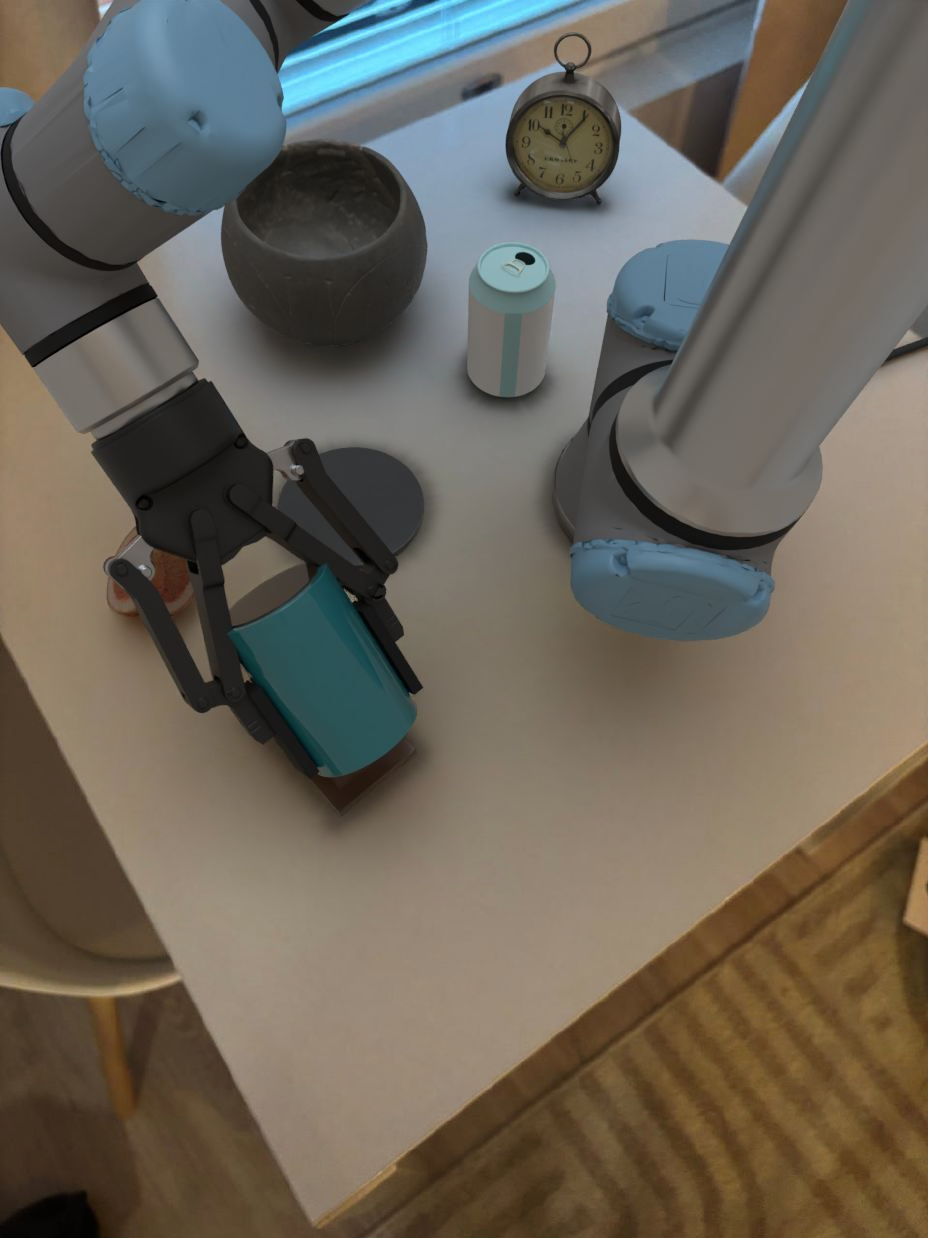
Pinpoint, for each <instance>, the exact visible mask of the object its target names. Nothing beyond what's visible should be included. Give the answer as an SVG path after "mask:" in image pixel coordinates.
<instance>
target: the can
mask: <svg viewBox="0 0 928 1238" xmlns="http://www.w3.org/2000/svg"><path fill="white" fill-rule="evenodd" d="M556 287H557V283H556V277H555V275H554V273H553V271H552V269H551V267H550V261H549V260H548V258H547V256H546V255H545V253H544V252H542V251H541V250H540V249H539V248H537V247H536V246H532V245H531V244H528V243H524V242H519V241H506V242H500V243H497V244H494V245H492V246H490V247H488V248H487V249H486V250H484V251H483V252H481V255H479V258H478V259H477V263H476V265H475V266H474V267H473V269H472V270H471V272H470V274H469V278H468V304H467V305H468V306H467V308H468V309H467V310H468V311H467V352H466V355H467V356H466V357H467V358H466V369H467V370H466V371H467V374H468V377H469V379H470V381H471V382H472V383H473V385H475V386H476V387H477V388H478V389H479V390H481V391H482V392H484V393H486V394H489V395H491V396H495V397H500V398H515V397H521V396H524V395H527V394H529V393H530V392H533V391H534V390H535V389H536V388H538V387H539V386H540V385H541V383H542V382H543V380H544V378H545V374H546V370H547V369H546V368H547V362H548V361H547V360H548V353H549V346H550V345H549V343H550V336H551V329H552V322H553V321H552V320H553V312H554V303H555V295H556Z"/></svg>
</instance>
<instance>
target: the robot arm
mask: <svg viewBox="0 0 928 1238" xmlns="http://www.w3.org/2000/svg"><path fill="white" fill-rule="evenodd" d="M371 1H372V0H112V2H111V3H110V5H109V6H108V8H107V9H106V11H105V13H104V14H103V16H102V17H101V18H100V21H98V24H97V25H96V27H95V28H94V30H93V31H92V33H91V35H90V36H89V38H88V39H87V40H86V42H85V44H84V45H83V47H82V48H81V50H80V52H79V53H78V55H76V57H75V59H73V61H72V62H71V63H70V65H69V66H68V67H67V69H65V71H64V72H63V73H62V74H61V75H60V76H59V78H58V79H57V80H56V81H55V82H54V83H53V84H52V85H51V86H50V87H49V88H48V90H46V92H45V93H44V94H43V95H42V96H41V97H40V98H39V99H38V100H37V101H36V102H35V101H34V99H33V98H32V97H31V96H30V95H28V94H27V93H25V92H24V91H22V90H21V89H16V88H12V87H5V86H4V87H0V326H1V328H2V329H3V330H4V331H5V333H6V334H7V336H8V338H10V340H11V342H13V345H14V346H15V347H16V348H17V350H18V351H19V352H20V354H21V355H22V356H24V358H25V360H26V361H27V362H28V364H29V366H30V367H31V368H32V369H33V371H34V372H35V374H36V376H38V379H39V380H40V381H41V383H42V385H44V387H45V388H46V390H47V391H48V393H49V394H50V396H51V397H52V399H53V401H54V402H55V403H56V405H57V406H58V408H59V409H60V410H61V412H62V413H63V414H64V416H65V417H66V419H67V420H68V421H69V423H70V425H71V426H72V428H73V429H74V430H75V432H76V433H79V434H82V435H85V434H88V433H90V434H91V435H92V437H93V438H94V439H95V441H94V442H92V443H91V444H90V447H91V448H92V450H91V451H90V453H91V455H92V456H93V458H94V459H95V461H96V462H97V463H98V465H99V466H100V468H101V469H102V471H103V472H104V473H105V475H106V476H107V478H108V479H109V481H110V482H111V484H112V485H113V486H114V488H115V489H116V490H117V492H118V493H119V494H120V496H121V498H122V499H123V500H124V502H125V503H126V505H127V507H129V509H130V510H131V512H132V515H133V517H134V521H135V526H136V531H137V534H138V536H137V537H136V538H135V539H134V540H133V541H131V542H130V543H129V544H128V545H127V546H126V547H125V548H124V549H123V550H122V551H121V552H120V553H119V554H118V555H117V556H115V555H111V556H109V557H108V558H106V559H105V561H103V565H102V569H103V572H104V573H105V575H106V576H107V577H110V578H111V579H112V580H113V581H114V582H115V583H116V584H117V585H119V586H120V587H121V588H122V589H123V590H124V591H125V592H126V593H127V594H129V596H130V597H131V599H132V601H133V603H134V605H135V607H136V609H137V611H138V613H139V615H140V617H141V619H140V620H141V621H142V623H143V625H144V626H145V628H146V630H147V632H148V634H149V636H150V638H151V641H152V642H153V644H154V645H155V648H156V649H157V652H158V653H159V656H160V658H161V659H162V661H163V663H164V665H165V667H166V669H167V671H168V673H169V675H170V677H171V678H172V680H173V682H174V685H175V686H176V688H177V690H178V692H179V694H180V696H181V698H182V700H183V701H184V702H185V703H186V704H187V705H188V706H189V707H190V708H191V709H192V710H194V712H196V713H199V714H206V713H208V712H209V711H211V709H213V708H217V707H220V706H226V707H228V708H229V711H231V712H232V714H233V715H234V716H235V718H236V720H237V721H238V722H239V724H240V725H241V726H242V728H243V729H244V730H245V732H246V733H247V734H248V736H249V737H250V738H252V739H253V740H254V741H256V742H258V743H259V744H261V745H265V744H266V743H268V742H269V741H270V740H272V739H273V738H274V739H275V740H274V739H273V740H274V741H275V742H276V744H277V745H278V746H279V748H280V749H281V750H282V752H283V753H284V754H285V756H286V758H287V759H288V760H289V761H290V763H291V764H292V766H293V767H294V768H295V770H297V771H298V772H299V773H301V774H302V775H303V776H305V777H306V778H307V779H308V778H309V779H311V778H312V777H314V776H315V775H316V774H317V773H319V772H320V771H319V770H318V768H317V767H316V766H315V764H314V763H313V761H312V760H311V759H310V757H309V756H308V754H307V753H306V751H305V750H304V749H303V747H302V746H301V744H300V743H299V741H298V740H297V739H296V737H295V736H294V734H293V733H292V732H291V730H290V729H289V727H288V726H287V724H286V723H285V722H284V720H283V719H282V717H281V716H280V714H279V713H278V712H277V710H276V709H275V707H274V706H273V705H272V703H271V702H270V700H269V699H268V697H267V696H266V695H265V693H264V692H263V690H262V689H261V688H260V687H258V686H257V685H255V684H253V683H252V682H251V680H250V679H246V680H245V681H244V676H243V671H242V670H243V669H242V668H241V666H240V661H239V656H238V651H237V648H236V646H235V645H234V643H233V642H232V641H231V639H230V638H229V636H228V635H227V634H228V633H229V632H230V631H231V630H233V627H232V623H231V618H230V613H229V609H230V607H229V603H228V599H227V594H226V590H225V575H224V570H223V566H224V565H226V564H227V563H229V562H231V561H232V560H233V559H234V558H235V557H236V556H237V555H238V554H239V553H240V552H241V550H242V549H243V548H244V547H248V546H250V545H254V544H256V543H258V542H259V541H261V540H262V539H264V538H265V537H266V538H267V539H269V540H271V541H273V542H275V543H277V544H278V546H280V547H282V548H283V549H285V550H287V551H288V552H289V553H291V554H292V555H294V556H295V557H296V558H298V559H300V560H301V561H303V563H304V562H305V563H307V564H314V565H317V566H322V565H324V564H325V563H327V564H328V566H329V567H330V569H331V570H332V572H333V573H334V575H335V577H336V578H337V579H338V581H339V582H340V584H341V586H342V587H343V589H344V590H345V592H346V593H347V592H348V593H349V594H351V595H352V596H354V597H355V599H356V600H353V601H351V602H352V603H353V605H354V606H355V608H356V609H357V611H358V613H359V614H360V616H361V617H362V619H363V621H364V622H365V624H366V625H367V627H368V628H369V630H370V632H371V633H372V635H373V636H374V638H375V640H376V641H377V643H378V644H379V646H380V647H381V649H382V651H383V652H384V654H385V655H386V657H387V659H388V660H389V662H390V663H391V665H392V667H393V668H394V670H395V671H396V673H397V674H398V676H399V678H400V679H401V681H402V682H403V684H404V686H405V687H406V689H407V690H408V692H409V693H410V695H411V694H412V695H414V696H416V694H418V693H419V692H420V691H422V690H423V689H424V686H423V684H422V683H421V681H420V680H419V678H418V676H417V675H416V673H415V671H414V670H413V668H412V667H411V665H410V663H409V662H408V660H407V659H406V657H405V656H404V654H403V652H402V650H401V649H400V647H399V646H398V644H397V643H396V642H398V641H399V640H400V639H401V638H404V636H405V630H404V626H403V624H402V622H401V621H400V619H399V618H398V616H397V615H396V613H395V610H394V609H393V608H392V606H391V605H390V603H389V602H388V600H387V599H386V596H387V588H386V585H385V583H386V582H387V580H388V579H389V577H390V576H391V575H394V574H396V572H397V571H398V569H399V566H400V565H399V560H398V558H397V556H394V555H393V554H392V552H391V551H390V550H389V549H388V548H387V546H386V545H385V544H384V543H383V542H382V540H381V539H380V538H379V537H378V535H377V534H376V533H375V532H374V531H373V529H372V528H371V527H370V526H369V525H368V523H367V522H366V521H365V520H364V518H363V517H362V516H361V515H360V514H359V512H358V511H357V510H356V509H355V508H354V506H353V505H352V504H351V503H350V501H349V500H348V499H347V498H346V497H345V495H344V494H343V493H342V492H341V491H340V489H339V488H338V487H337V486H336V484H335V483H334V482H333V481H332V480H331V478H330V477H329V476H328V475H327V474H326V472H325V469H324V467H323V464H322V461H321V459H320V456H319V451H318V448H317V446H316V444H315V442H314V441H313V440H312V439H311V438H309V437H305V438H297V439H290V440H287V441H286V442H285V443H284V445H283V446H281V447H278V448H275V449H274V450H270V451H267V452H266V451H264V450H263V449H261V448H259V447H258V446H256V445H255V444H254V443H252V442H251V441H250V439H249V438H248V437H247V435H246V433H245V431H244V430H243V428H242V426H241V425H240V424H239V421H238V420H237V419H236V416H234V414H233V412H232V411H231V409H230V408H229V406H228V404H227V403H226V401H225V400H224V398H223V396H222V395H221V393H220V392H219V390H218V389H217V387H216V386H215V384H214V382H213V380H210V381H208V380H207V378H205V377H203V378H201V379H199V378H198V377H197V376H196V373H194V371H195V370H197V369H198V368H199V364H200V360H199V358H198V356H197V355H196V354H195V351H193V349H192V347H191V346H190V343H189V342H188V341H187V340H186V338H185V336H184V335H183V333H182V332H181V330H180V329H179V327H178V326H177V324H176V322H174V319H173V318H172V316H171V315H170V313H169V312H168V311H167V308H166V307H165V305H164V304H163V303H162V301H161V299H160V298H159V295H158V293H157V292H156V290H155V288H154V287H153V286H152V285H151V283H150V282H149V281H148V279H147V277H146V275H145V273H144V272H143V270H142V268H141V267H140V265H139V263H138V262H140V261H141V260H143V258H145V257H146V256H147V255H149V254H151V253H153V252H154V251H155V250H157V249H158V248H159V247H161V246H162V245H164V244H165V243H167V242H168V241H169V240H171V239H173V238H175V237H177V235H179V234H180V233H182V232H184V231H185V230H186V229H188V228H189V227H191V226H193V225H194V224H195V223H196V222H198V221H199V220H201V219H202V218H204V217H206V216H208V215H209V214H210V213H211V212H213V211H218V210H220V209H222V208H224V206H225V204H226V202H232V201H233V200H235V199H236V198H237V197H238V196H239V195H240V194H241V193H242V192H243V191H244V190H246V186H247V185H248V184H249V183H250V182H251V181H252V180H254V179H255V178H256V177H257V176H258V175H259V174H260V173H261V172H263V171H264V170H265V169H266V168H268V167H269V166H270V165H271V164H272V162H273V161H274V160H275V158H276V157H277V156H278V154H279V152H280V150H281V148H282V145H284V142H285V139H286V135H287V124H288V123H287V119H286V117H285V115H284V113H283V102H284V100H285V96H284V90H283V86H282V83H281V80H280V78H279V73H280V71H281V69H282V67H283V64H284V62H285V61H286V59H287V56H288V55H289V54H290V53H291V52H292V51H293V50H295V48H296V47H298V46H299V45H301V44H303V43H304V42H306V41H307V40H310V39H311V38H312V37H314V36H316V35H318V34H319V33H321V32H323V31H325V30H326V29H327V28H329V27H332V26H333V25H335V24H336V23H338V22H340V21H341V20H343V19H344V18H346V17H347V16H349V15H350V14H351V13H352V12H355V11H356V10H358V9H359V8H361V7H363V6H364V5H366V4H368V3H370V2H371ZM821 53H822V54H821V55H820V57H819V60H818V61H817V64H816V66H815V67H814V70H813V71H812V74H811V76H810V78H809V80H808V82H807V84H806V86H805V88H804V90H803V93H802V95H801V96H800V99H799V101H798V102H797V105H796V107H795V108H794V111H793V114H792V115H791V117H790V119H789V121H788V123H787V125H786V128H785V129H784V131H783V133H782V136H781V137H780V140H779V142H778V144H777V146H776V148H775V150H774V152H773V154H772V156H771V158H770V160H769V162H768V165H767V166H766V168H765V170H764V172H763V174H762V177H761V179H760V181H759V183H758V185H757V186H756V189H755V191H754V194H753V195H752V197H751V199H750V201H749V204H748V206H747V208H746V210H745V212H744V214H743V216H742V218H741V220H740V222H739V224H738V226H737V228H736V230H735V232H734V235H733V236H732V238H731V240H730V243H729V244H728V243H725V242H720V241H713V240H707V239H677V240H676V239H675V240H669V241H666V242H665V241H664V242H660V243H657V245H656V246H654V247H648V248H645V249H642V250H641V251H639V252H637V253H636V254H635V255H633V256H632V257H630V258H629V259H628V260H627V261H626V262H625V263H624V265H623V266H622V267H621V269H620V270H619V272H618V273H617V275H616V277H615V281H614V285H613V287H612V290H611V291H612V292H611V293H610V294H609V295H608V297H607V300H606V313H607V316H606V321H605V327H604V332H603V338H602V342H601V348H600V354H599V359H598V363H597V370H596V375H595V378H594V379H595V380H594V385H593V390H592V395H591V401H590V405H589V412H588V416H587V418H586V420H585V421H584V422H583V424H582V425H581V426H580V428H579V429H578V431H577V432H576V433H575V434H574V435H573V437H571V439H569V441H568V442H567V443H566V444H565V446H564V448H563V449H562V451H561V453H560V455H559V457H558V459H557V462H556V467H555V470H554V477H553V483H552V504H553V508H554V512H555V515H556V518H557V520H558V523H559V524H560V526H561V528H562V529H563V531H564V533H565V534H566V536H567V537H568V538H569V539H570V540H571V542H572V545H571V547H570V548H569V551H568V556H569V558H570V574H569V575H570V577H569V582H570V584H569V585H570V588H571V593H572V594H573V597H574V598H575V600H576V601H577V602H578V604H579V605H580V606H581V607H582V609H583V610H585V611H586V612H587V613H589V614H591V615H593V616H594V617H595V618H596V619H597V620H599V621H600V622H602V623H604V624H606V625H608V626H610V627H612V628H615V629H618V630H620V631H623V632H626V633H631V634H632V635H633V634H634V635H638V636H641V637H647V638H652V639H656V640H664V641H675V642H677V641H678V642H698V641H713V640H720V639H727V638H730V637H734V636H738V635H740V634H742V633H745V632H747V631H749V630H751V629H752V628H755V627H756V626H757V625H758V624H760V623H761V622H762V621H763V619H765V617H766V615H767V614H768V613H769V609H770V606H771V595H772V593H774V591H775V589H776V581H775V580H774V578H773V577H772V564H773V559H774V556H775V553H776V550H777V548H778V546H779V544H780V543H781V542H782V541H783V540H784V539H785V537H786V536H787V535H788V534H789V532H790V531H791V530H792V529H793V528H794V527H795V525H796V524H797V523H798V522H799V521H800V519H801V518H802V517H803V516H804V515H805V513H806V512H807V511H808V509H809V508H810V506H811V505H812V504H813V502H814V500H815V498H816V497H817V494H818V492H819V490H820V488H821V483H822V481H823V469H824V465H823V455H822V452H821V451H822V450H821V447H820V446H821V444H822V443H823V442H824V441H825V439H826V438H827V437H828V436H829V434H830V433H831V432H832V430H833V429H834V428H835V426H836V425H837V424H838V422H840V420H841V418H843V416H844V415H845V414H846V412H847V411H848V410H849V409H850V407H851V406H852V404H853V403H854V402H855V401H856V399H857V398H858V396H859V395H860V394H861V393H862V391H863V390H864V389H865V387H866V386H867V385H868V384H869V382H870V381H871V380H872V378H873V377H874V376H875V374H876V373H877V372H878V371H879V370H880V368H881V367H882V365H883V364H885V363H887V362H889V361H892V360H894V359H896V358H900V357H902V356H904V355H905V356H906V354H910V353H912V352H915V351H918V350H922V349H924V348H926V347H928V336H927V337H923V338H920V339H918V340H915V341H912V342H910V343H906V344H904V345H901V346H899V347H897V346H898V344H899V343H900V342H901V341H902V340H903V338H904V337H905V336H906V334H907V333H908V331H909V330H910V329H911V327H913V326H914V324H915V322H916V321H917V320H918V318H919V317H920V316H921V314H922V313H923V312H924V311H925V309H926V308H927V307H928V0H847V2H846V4H845V6H844V8H843V10H842V11H841V15H840V16H839V18H838V20H837V22H836V25H835V26H834V29H833V30H832V33H831V35H830V36H829V38H828V41H827V43H826V44H825V47H824V49H823V51H822V52H821ZM275 471H277V472H279V473H280V474H281V475H282V477H283V478H284V479H285V480H286V481H287V480H289V481H295V482H296V483H297V485H298V487H299V488H300V489H301V491H302V492H303V493H304V494H305V496H306V497H307V498H308V499H309V500H310V501H311V503H312V504H313V505H314V506H315V507H316V509H317V510H318V511H319V512H320V513H321V514H322V516H323V517H324V518H325V519H326V520H327V522H328V523H329V524H330V525H331V526H332V527H333V529H334V530H335V531H336V532H337V533H338V535H339V536H340V537H341V538H342V539H343V540H344V542H345V543H346V544H347V545H348V546H349V548H350V549H351V550H352V551H353V552H354V553H355V555H356V556H357V557H358V558H359V559H360V561H361V562H362V563H363V564H364V565H365V566H364V567H363V568H362V569H358V568H357V567H356V566H354V565H353V564H351V563H350V562H349V561H347V560H346V559H344V558H343V557H342V556H340V555H339V554H337V553H336V552H334V551H333V550H332V549H330V548H329V547H327V546H326V545H325V544H323V543H322V542H320V541H319V540H318V539H316V538H315V537H313V536H312V535H311V534H309V533H308V532H306V531H305V530H303V529H302V528H301V527H299V526H298V525H297V524H296V522H295V521H293V520H292V519H290V518H289V517H288V516H286V515H285V514H283V513H282V512H281V511H279V510H278V508H277V507H276V506H275V505H273V503H274V502H273V500H274V472H275ZM153 549H157V550H160V551H163V552H166V553H169V554H171V555H174V556H177V557H180V558H183V559H185V562H186V567H187V572H188V576H189V580H190V582H191V584H192V587H193V591H194V600H195V604H196V605H195V606H196V609H197V612H198V619H199V621H200V622H199V623H200V627H201V632H202V636H203V641H204V645H205V650H206V655H207V659H208V665H209V668H210V674H211V678H212V680H209V681H207V682H205V680H204V678H203V676H202V674H201V672H200V670H199V668H198V665H197V664H196V662H195V659H194V658H193V657H192V654H191V653H190V651H189V649H188V646H187V644H186V643H185V641H184V638H183V636H182V635H181V633H180V631H179V629H178V626H177V625H176V623H175V621H174V619H173V616H171V615H170V613H169V611H168V609H167V607H166V605H165V603H164V601H163V599H162V597H161V595H160V594H159V592H158V590H157V589H156V588H155V586H154V585H153V584H152V583H151V582H150V581H151V580H152V578H153V577H154V575H155V567H154V566H153V564H152V562H151V559H150V555H151V552H152V551H153ZM309 779H308V780H309Z"/></svg>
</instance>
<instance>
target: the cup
mask: <svg viewBox="0 0 928 1238" xmlns="http://www.w3.org/2000/svg"><path fill="white" fill-rule="evenodd" d="M352 602H353V601H352V600H351V598H350V596H349V595H348V594H347V591H346V590H345V589H343V587H342V586H341V584H340V582H339V581H338V579H337V578H336V577H335V575H334V573H333V572H332V570H331V569H330V567H329V566H328V564H327V563H325V564H324V565H322V566H317V565H314V564H307V563H305V562H304V561H303V562H300V563H298V564H296V565H293V566H290V567H289V568H286V569H285V570H282V571H281V572H279V573H277V574H275V575H273V576H272V577H270V578H268V579H266V580H264V581H263V582H262V583H260V584H258V585H257V586H255V587H254V588H252V589H251V590H249V591H248V592H247V593H246V594H245V595H243V596H242V597H240V599H239V600H237V601H236V602H235V603H234V604H233V605H231V606H230V607H229V613H230V618H231V623H232V627H233V630H231V631H230V632H229V633H228V634H227V635H228V636H229V638H230V639H231V641H232V642H233V643H234V645H235V646H236V648H237V651H238V656H239V661H240V666H241V670H243V672H244V673H245V675H246V676H247V678H248V680H249V681H250V682H252V683H253V684H255V685H257V686H258V687H260V688H261V689H262V690H263V692H264V693H265V695H266V696H267V697H268V699H269V700H270V702H271V703H272V705H273V706H274V707H275V709H276V710H277V712H278V713H279V714H280V716H281V717H282V719H283V720H284V722H285V723H286V724H287V726H288V727H289V729H290V730H291V732H292V733H293V734H294V736H295V737H296V739H297V740H298V741H299V743H300V744H301V746H302V747H303V749H304V750H305V751H306V753H307V754H308V756H309V757H310V759H311V760H312V761H313V763H314V764H315V766H316V767H317V768H318V770H319V771H320V772H319V773H317V774H319V775H321V776H324V777H338V776H343V775H346V774H349V773H352V772H355V771H357V770H359V769H362V768H364V767H365V766H367V765H369V764H371V763H373V762H374V761H376V760H377V759H379V758H380V757H382V756H383V755H385V754H386V753H387V752H388V751H390V750H391V749H392V748H393V747H394V746H395V745H396V744H398V743H399V742H400V741H401V740H402V738H403V737H404V736H405V737H406V735H407V734H408V733H409V731H410V730H411V729H412V727H413V725H414V723H415V721H416V720H417V719H416V718H417V715H418V705H417V703H416V701H415V700H414V698H413V696H412V695H411V693H409V692H408V690H407V689H406V687H405V686H404V684H403V682H402V681H401V679H400V678H399V676H398V674H397V673H396V671H395V670H394V668H393V667H392V665H391V663H390V662H389V660H388V659H387V657H386V655H385V654H384V652H383V651H382V649H381V647H380V646H379V644H378V643H377V641H376V640H375V638H374V636H373V635H372V633H371V632H370V630H369V628H368V627H367V625H366V624H365V622H364V621H363V619H362V617H361V616H360V614H359V613H358V611H357V609H356V608H355V606H354V605H353V603H352Z"/></svg>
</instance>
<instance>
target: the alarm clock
mask: <svg viewBox="0 0 928 1238" xmlns="http://www.w3.org/2000/svg"><path fill="white" fill-rule="evenodd" d="M569 37H570V38H571V37H577V38H580V39H581V40H582V41H584V43H585V44H586V46H587V56H586V57H585V59H584V61H582V62H581V63H579V64H577V65H576V64H575V63H574V62H572V61H568V62H567V63H564V62H563V61H561V60H560V58H559V56H558V48H559V45H560V44H561V42H563V40H565V39H566V38H569ZM553 55H554V59H555V61H557V63H558V64H559V65H560V66H561V67H562V68H564V70H565V71H556V72H550V73H548V74H545V75H542V76H541V77H539V78H537V79H536V80H534V81H533V82H531V83H530V84H528V86H526V87H525V89H524V90H523V91H522V92H521V94H520V95H518V98H517V100H516V102H515V103H514V105H513V108H512V111H511V114H510V118H509V123H508V127H507V131H506V135H505V145H504V146H505V147H504V148H505V155H506V159H507V163H508V165H509V168H510V169H511V171H512V173H513V175H514V177H515V178H516V179H517V181H519V183H520V184H519V185H518V187H517V188H516V189H514V190H513V195H514V196H515V197H519V196H520V194H521V192H522V191H524V190H525V189H527V190H528V191H530V192H532V193H533V194H535V195H537V196H539V197H541V198H544V199H549V200H553V201H572V200H577V199H581V198H584V197H586V196H588V195H590V196H591V197H592V198H593V199H594V200H595V204H596V205H597V206H601V205H602V203H603V200H602V198H601V197H600V196H599V193H598V191H597V190H598V189H600V187H602V186H603V185H604V184H605V183H606V182H607V181H608V179H609V178H610V177H611V176H612V173H613V172H614V170H615V168H616V165H617V162H618V160H619V154H620V144H621V137H622V118H621V113H620V109H619V106H618V104H617V102H616V100H615V98H614V97H613V95H612V94H611V93H610V91H609V90H608V89H607V88H606V87H605V86H604V85H603V84H602V83H601V82H600V81H598V80H596V78H593V77H591V76H589V75H587V74H583V73H580V72H578V71H577V72H576V70H577V69H581V68H583V67H584V66H586V64H587V63H588V62H589V60H590V58H591V55H592V45H591V42H590V40H589V39H588V37H586V36H585V35H584V34H583V33H580V32H577V31H571V32H566V33H564V34H562V35H561V36H560V37H559V38H558V39H557V40H555V42H554V46H553Z"/></svg>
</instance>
